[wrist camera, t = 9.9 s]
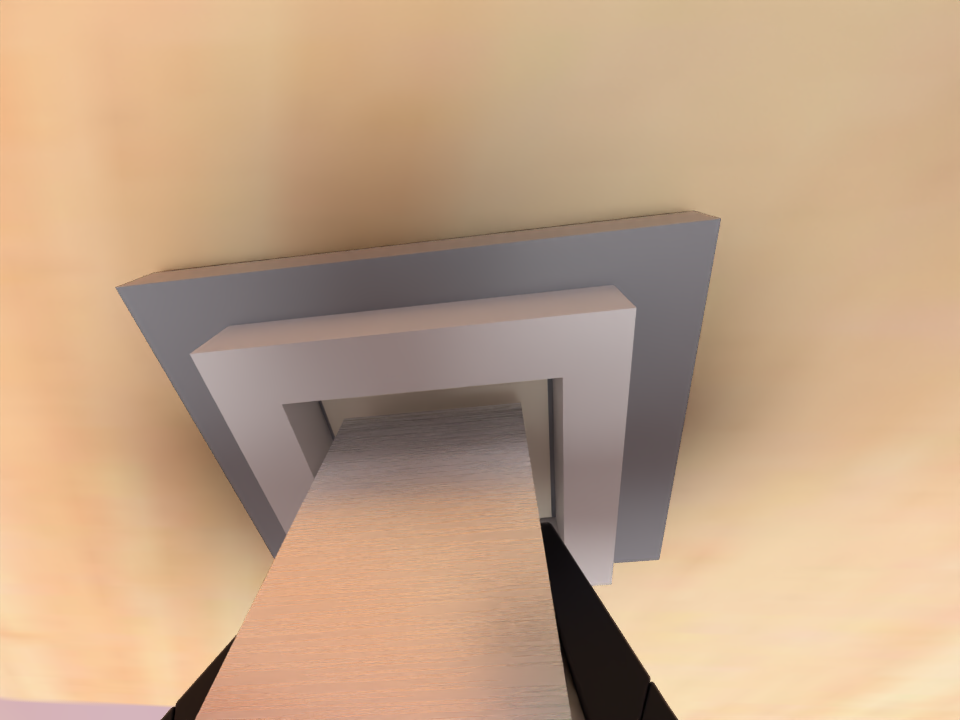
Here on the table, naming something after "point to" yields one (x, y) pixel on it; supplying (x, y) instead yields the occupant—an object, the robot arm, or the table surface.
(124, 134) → the table surface
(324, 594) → the block
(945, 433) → the table surface
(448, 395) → the grey slotted socket base
